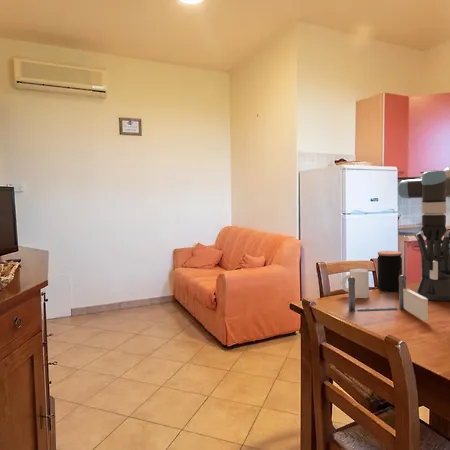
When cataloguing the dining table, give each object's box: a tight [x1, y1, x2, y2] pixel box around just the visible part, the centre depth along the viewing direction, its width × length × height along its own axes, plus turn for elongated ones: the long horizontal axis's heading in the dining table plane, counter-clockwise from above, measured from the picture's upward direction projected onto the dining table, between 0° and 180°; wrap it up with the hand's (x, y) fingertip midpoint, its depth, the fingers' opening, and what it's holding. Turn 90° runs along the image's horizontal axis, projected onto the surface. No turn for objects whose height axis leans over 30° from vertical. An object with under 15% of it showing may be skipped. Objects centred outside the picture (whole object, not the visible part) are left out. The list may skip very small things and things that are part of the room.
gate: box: [403, 288, 429, 322], centre depth 137 cm, size 15×2×8 cm, turn 179°
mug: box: [340, 268, 370, 299], centre depth 168 cm, size 8×12×12 cm
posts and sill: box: [347, 274, 407, 312], centre depth 147 cm, size 23×3×14 cm, turn 89°
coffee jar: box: [377, 250, 403, 293], centre depth 178 cm, size 11×11×18 cm
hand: (433, 278), depth 135 cm, fingers closed
